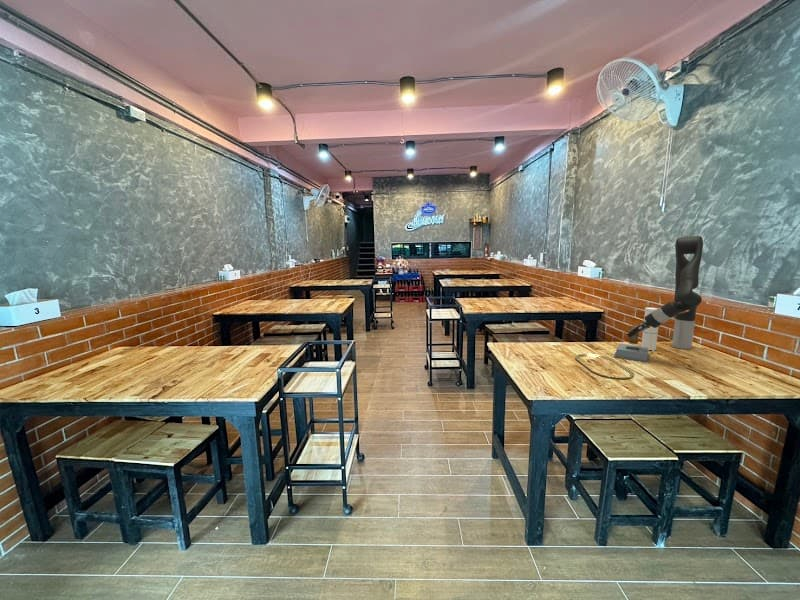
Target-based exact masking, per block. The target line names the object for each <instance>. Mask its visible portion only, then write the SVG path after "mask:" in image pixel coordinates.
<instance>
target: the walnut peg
mask: <svg viewBox="0 0 800 600" xmlns="http://www.w3.org/2000/svg"><path fill="white" fill-rule="evenodd" d="M637 326H638V325H630V328H629V332H631V331H632V330H633V329H635V328H636V327H637ZM635 331H636V332H637V330H635ZM639 334H640V332H638V333H637V334H635V335H633V336H631V337H628V339H629V340H628V343H629V344H631V345H638V343H639Z"/></svg>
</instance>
